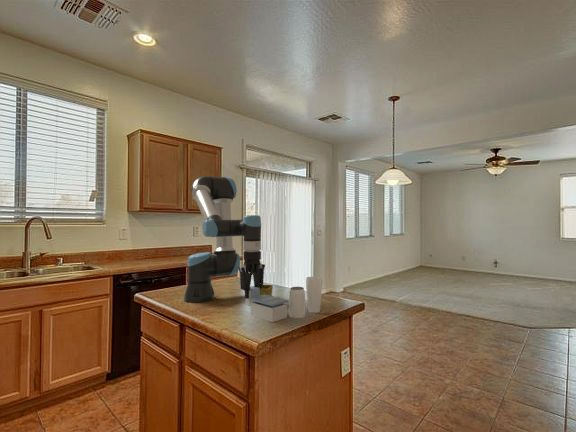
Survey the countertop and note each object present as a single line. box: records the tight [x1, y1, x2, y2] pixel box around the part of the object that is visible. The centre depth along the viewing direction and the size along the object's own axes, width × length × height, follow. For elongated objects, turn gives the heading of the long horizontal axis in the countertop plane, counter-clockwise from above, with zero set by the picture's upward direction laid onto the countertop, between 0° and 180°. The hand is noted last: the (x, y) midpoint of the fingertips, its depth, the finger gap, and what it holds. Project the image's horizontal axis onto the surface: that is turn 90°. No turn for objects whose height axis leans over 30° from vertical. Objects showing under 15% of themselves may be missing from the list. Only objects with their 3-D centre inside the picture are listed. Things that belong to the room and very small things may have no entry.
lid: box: [249, 285, 289, 308], centre depth 131 cm, size 19×9×6 cm, turn 47°
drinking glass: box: [305, 276, 323, 314], centre depth 137 cm, size 7×7×15 cm
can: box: [288, 286, 306, 319], centre depth 130 cm, size 6×6×12 cm
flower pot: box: [251, 284, 274, 302], centre depth 148 cm, size 9×9×9 cm
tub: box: [250, 301, 287, 323], centre depth 129 cm, size 13×8×6 cm, turn 47°
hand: (252, 304), depth 136 cm, fingers closed on lid, 3 cm apart
